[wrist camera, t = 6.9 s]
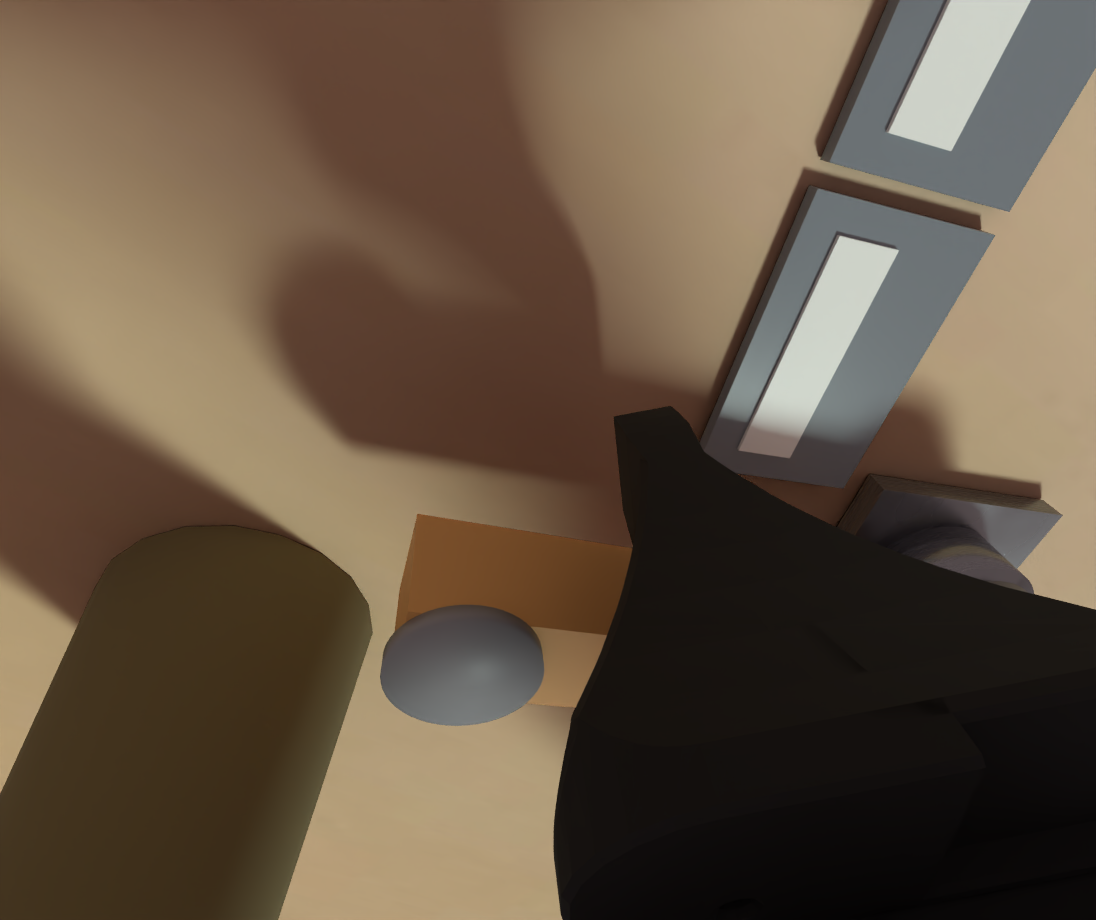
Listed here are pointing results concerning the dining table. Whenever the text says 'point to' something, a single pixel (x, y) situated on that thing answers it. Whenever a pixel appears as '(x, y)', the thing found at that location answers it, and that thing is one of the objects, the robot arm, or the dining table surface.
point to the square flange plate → (951, 526)
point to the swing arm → (499, 620)
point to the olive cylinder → (184, 733)
